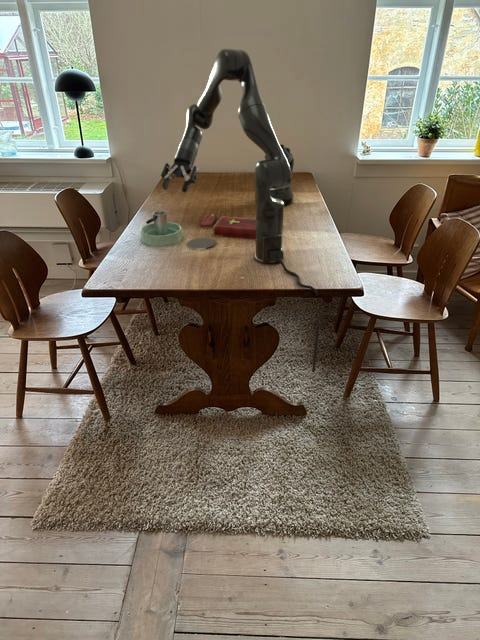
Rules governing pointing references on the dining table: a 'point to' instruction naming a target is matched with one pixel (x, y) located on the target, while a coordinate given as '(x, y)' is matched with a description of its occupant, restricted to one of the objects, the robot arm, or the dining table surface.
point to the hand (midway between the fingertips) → (173, 190)
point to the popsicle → (208, 220)
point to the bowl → (163, 240)
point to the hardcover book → (235, 227)
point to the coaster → (201, 243)
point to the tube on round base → (159, 223)
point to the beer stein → (287, 192)
